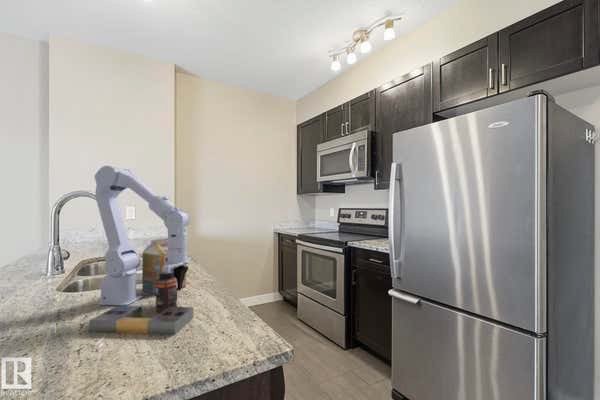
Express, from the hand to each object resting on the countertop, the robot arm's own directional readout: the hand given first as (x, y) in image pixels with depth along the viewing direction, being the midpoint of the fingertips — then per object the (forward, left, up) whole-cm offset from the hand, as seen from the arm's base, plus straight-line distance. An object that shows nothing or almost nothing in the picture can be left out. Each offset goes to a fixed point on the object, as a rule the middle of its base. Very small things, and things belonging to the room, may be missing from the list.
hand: (177, 289), depth 92 cm
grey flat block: (0, -17, -4) cm, 18 cm away
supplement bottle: (0, -6, -4) cm, 8 cm away
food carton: (-12, +14, -4) cm, 19 cm away
